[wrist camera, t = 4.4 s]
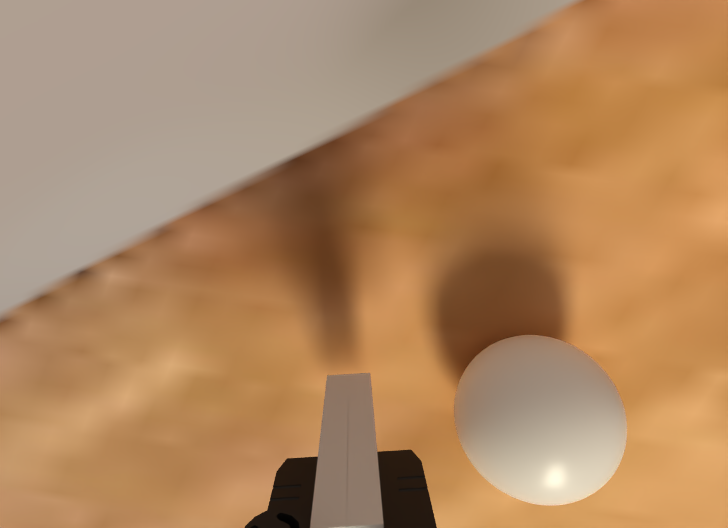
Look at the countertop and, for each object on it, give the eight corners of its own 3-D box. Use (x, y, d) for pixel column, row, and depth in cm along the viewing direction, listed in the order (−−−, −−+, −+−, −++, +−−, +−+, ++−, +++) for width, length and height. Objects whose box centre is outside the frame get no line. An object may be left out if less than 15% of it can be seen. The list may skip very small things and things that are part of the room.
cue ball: (439, 440, 19) (477, 553, 13) (440, 316, 17) (481, 385, 12) (568, 433, 19) (657, 542, 13) (578, 310, 18) (680, 375, 12)
